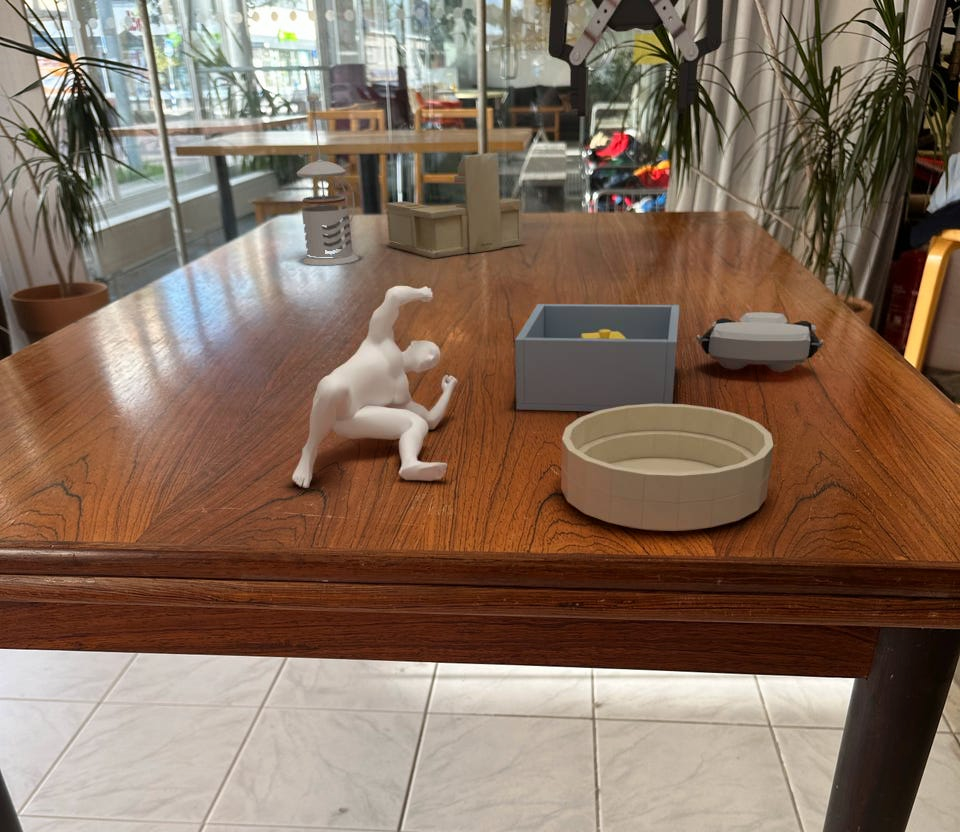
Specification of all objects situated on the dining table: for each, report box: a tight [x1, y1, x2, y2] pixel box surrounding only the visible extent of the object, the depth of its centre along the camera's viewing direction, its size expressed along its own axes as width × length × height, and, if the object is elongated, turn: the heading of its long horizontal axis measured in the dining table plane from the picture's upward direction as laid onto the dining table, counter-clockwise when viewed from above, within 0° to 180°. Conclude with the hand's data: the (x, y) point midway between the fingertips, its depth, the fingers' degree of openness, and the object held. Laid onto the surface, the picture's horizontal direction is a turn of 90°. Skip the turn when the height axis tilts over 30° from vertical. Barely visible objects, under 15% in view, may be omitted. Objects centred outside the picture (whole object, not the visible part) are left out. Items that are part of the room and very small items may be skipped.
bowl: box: [560, 403, 774, 532], centre depth 71 cm, size 15×15×4 cm
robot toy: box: [696, 311, 825, 373], centre depth 100 cm, size 12×4×15 cm
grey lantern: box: [296, 92, 360, 266], centre depth 157 cm, size 10×12×25 cm
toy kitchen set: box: [386, 152, 523, 259], centre depth 166 cm, size 18×17×15 cm
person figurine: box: [291, 285, 458, 489], centre depth 79 cm, size 13×13×18 cm
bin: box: [514, 303, 680, 413], centre depth 93 cm, size 15×15×7 cm
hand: (631, 114), depth 82 cm, fingers open, 8 cm apart
